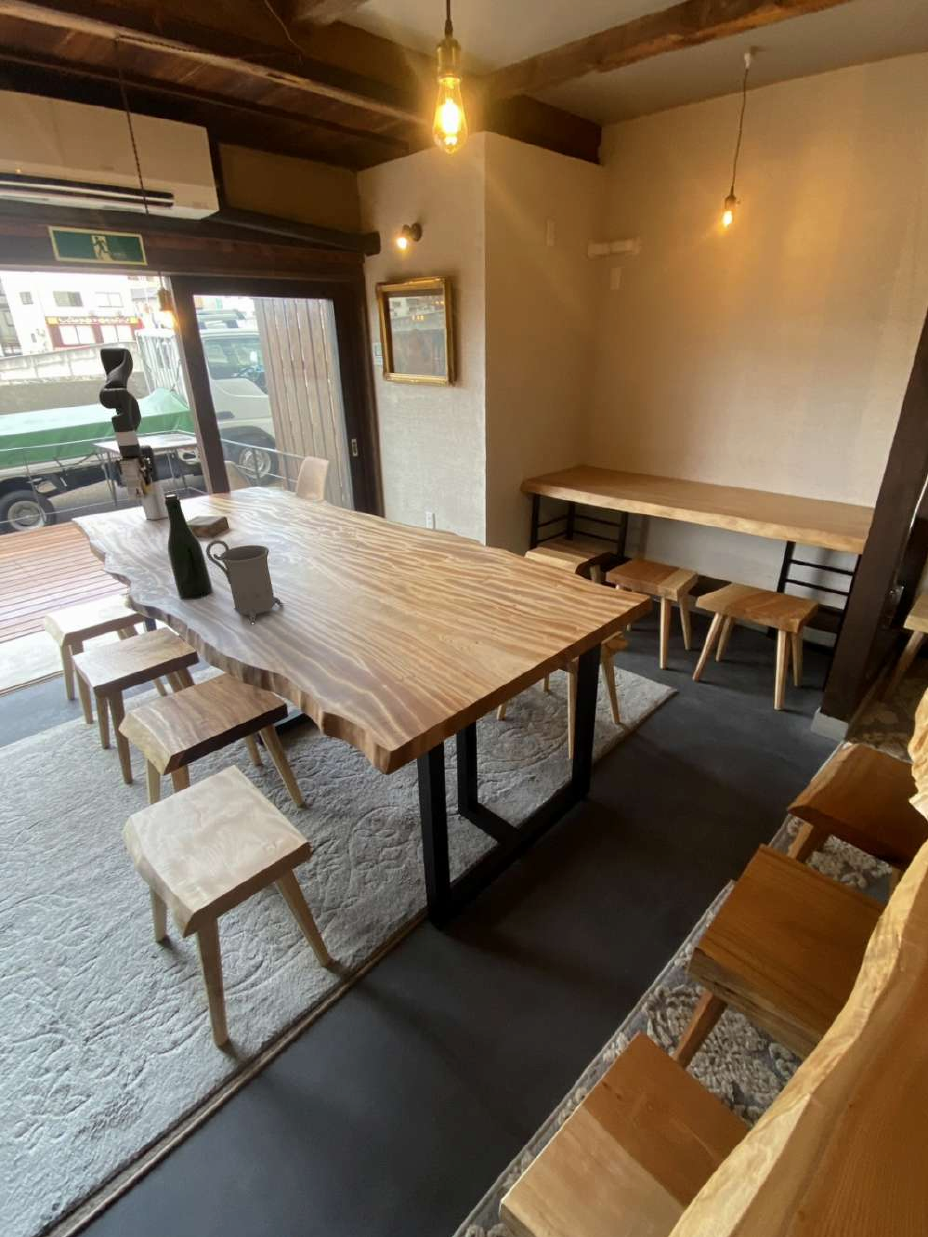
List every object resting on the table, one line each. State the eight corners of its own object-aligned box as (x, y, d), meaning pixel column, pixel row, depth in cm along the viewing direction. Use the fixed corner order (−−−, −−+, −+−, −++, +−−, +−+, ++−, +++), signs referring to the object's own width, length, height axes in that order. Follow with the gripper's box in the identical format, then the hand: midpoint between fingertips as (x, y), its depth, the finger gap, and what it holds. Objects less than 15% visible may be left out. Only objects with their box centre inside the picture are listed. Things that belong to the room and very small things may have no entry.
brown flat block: (182, 537, 252) (179, 525, 250) (199, 527, 264) (196, 515, 262) (213, 537, 250) (210, 525, 248) (229, 527, 262) (226, 515, 260)
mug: (273, 597, 190) (258, 522, 179) (293, 612, 180) (278, 533, 169) (215, 615, 180) (195, 537, 169) (232, 631, 170) (212, 549, 159)
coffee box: (141, 494, 246) (130, 454, 239) (156, 493, 246) (145, 454, 238) (129, 500, 238) (117, 459, 230) (145, 499, 237) (133, 458, 230)
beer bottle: (202, 585, 203) (178, 489, 188) (219, 591, 197) (195, 493, 182) (173, 595, 196) (145, 496, 181) (189, 602, 189) (162, 501, 175)
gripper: (150, 441, 234) (161, 482, 242) (117, 441, 236) (129, 482, 244) (139, 444, 228) (150, 487, 235) (105, 444, 230) (117, 487, 237)
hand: (139, 485), depth 239 cm, fingers closed on coffee box, 6 cm apart
